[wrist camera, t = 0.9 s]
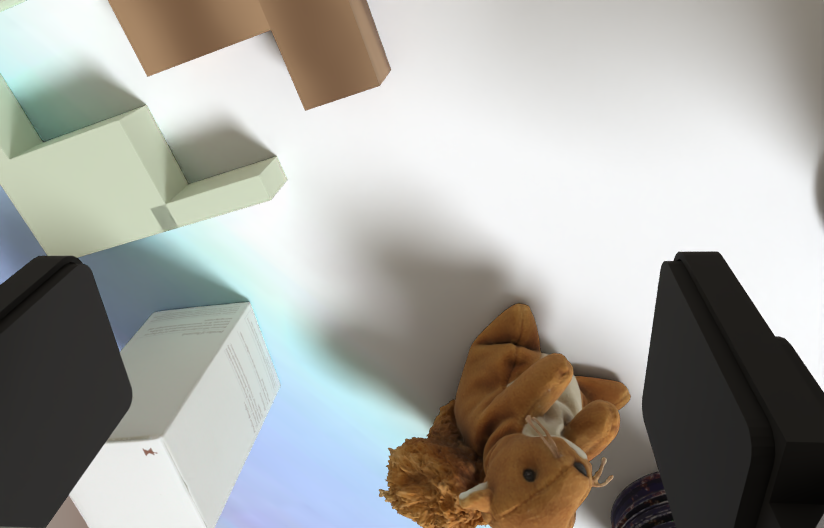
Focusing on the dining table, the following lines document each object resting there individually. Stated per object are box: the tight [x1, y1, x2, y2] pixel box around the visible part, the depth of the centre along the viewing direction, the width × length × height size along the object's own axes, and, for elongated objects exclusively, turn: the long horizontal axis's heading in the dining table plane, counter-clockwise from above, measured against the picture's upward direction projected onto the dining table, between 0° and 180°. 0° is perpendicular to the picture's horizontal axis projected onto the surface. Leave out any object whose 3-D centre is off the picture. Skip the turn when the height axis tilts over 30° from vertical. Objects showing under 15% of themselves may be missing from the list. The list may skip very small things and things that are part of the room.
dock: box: [0, 0, 287, 258], centre depth 34 cm, size 15×20×3 cm
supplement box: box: [69, 302, 281, 528], centre depth 39 cm, size 7×7×13 cm
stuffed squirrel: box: [379, 303, 631, 528], centre depth 38 cm, size 10×14×13 cm
